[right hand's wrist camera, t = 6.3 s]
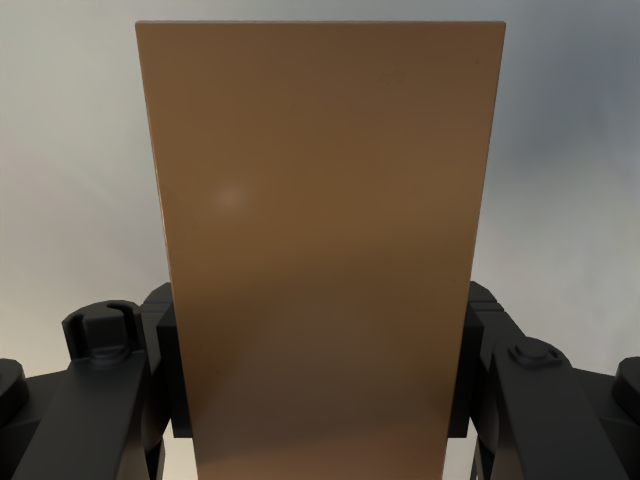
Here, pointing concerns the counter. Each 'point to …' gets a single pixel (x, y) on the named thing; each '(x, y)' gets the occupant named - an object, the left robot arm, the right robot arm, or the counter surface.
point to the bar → (320, 234)
